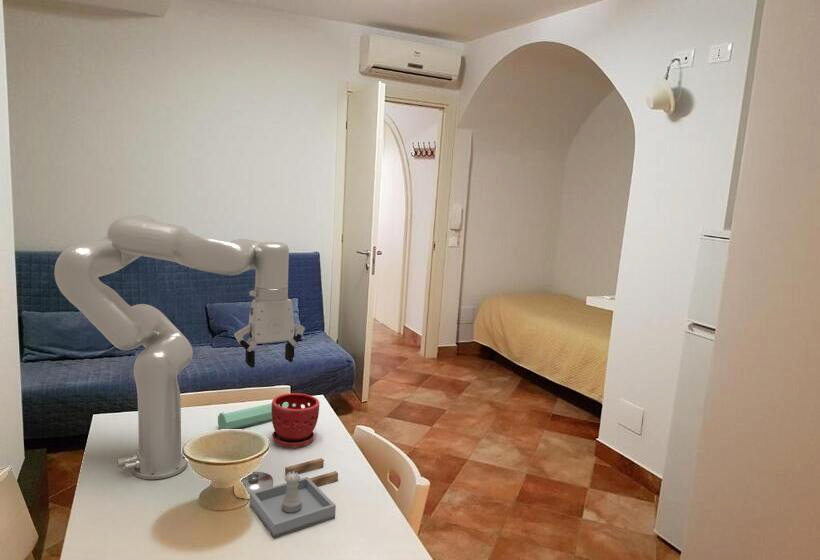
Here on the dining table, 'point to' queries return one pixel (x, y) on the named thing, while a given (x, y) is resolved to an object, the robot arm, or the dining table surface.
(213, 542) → the dining table surface
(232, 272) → the robot arm
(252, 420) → the mint green rod
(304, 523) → the tray
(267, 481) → the pulley
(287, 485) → the rook chess piece
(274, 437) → the plant pot
